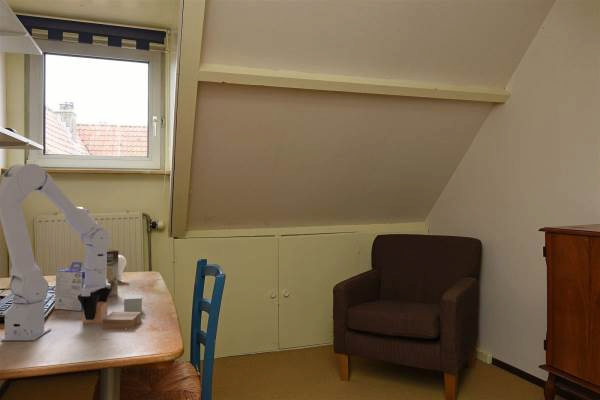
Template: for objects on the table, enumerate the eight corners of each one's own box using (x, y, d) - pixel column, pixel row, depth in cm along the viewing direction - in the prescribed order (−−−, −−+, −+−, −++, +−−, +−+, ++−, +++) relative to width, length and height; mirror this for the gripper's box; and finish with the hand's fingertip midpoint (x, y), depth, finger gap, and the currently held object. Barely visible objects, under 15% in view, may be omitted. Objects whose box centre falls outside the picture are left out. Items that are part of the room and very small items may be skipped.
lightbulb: (110, 280, 193) (110, 254, 193) (126, 279, 195) (127, 253, 194) (109, 283, 187) (109, 256, 187) (125, 282, 189) (126, 255, 188)
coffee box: (93, 299, 159) (93, 252, 159) (84, 296, 163) (85, 251, 163) (118, 294, 166) (118, 250, 166) (109, 292, 170) (109, 248, 170)
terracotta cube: (100, 323, 131) (101, 306, 131) (82, 323, 131) (83, 305, 131) (107, 318, 136) (107, 301, 136) (89, 318, 136) (90, 301, 136)
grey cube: (141, 314, 141) (141, 298, 141) (124, 315, 140) (124, 299, 140) (141, 310, 146) (141, 294, 146) (124, 311, 144) (125, 295, 144)
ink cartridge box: (93, 307, 149) (93, 262, 148) (81, 311, 143) (82, 265, 143) (66, 305, 150) (66, 260, 150) (54, 309, 145) (54, 263, 145)
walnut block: (132, 330, 126) (132, 319, 126) (102, 330, 126) (102, 319, 126) (141, 322, 134) (141, 311, 134) (112, 322, 134) (113, 311, 134)
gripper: (100, 273, 126) (99, 322, 126) (118, 265, 141) (118, 309, 141) (74, 273, 126) (73, 322, 126) (94, 264, 140) (94, 309, 140)
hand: (95, 315), depth 133 cm, fingers open, 7 cm apart
